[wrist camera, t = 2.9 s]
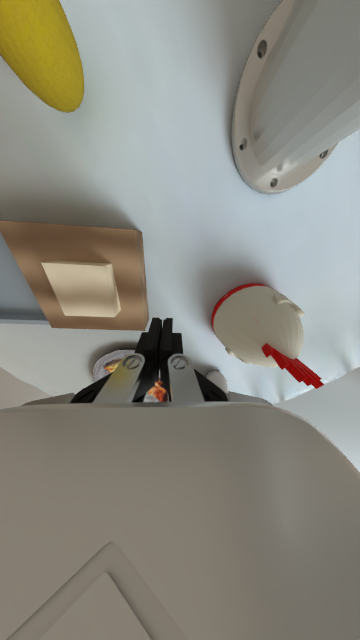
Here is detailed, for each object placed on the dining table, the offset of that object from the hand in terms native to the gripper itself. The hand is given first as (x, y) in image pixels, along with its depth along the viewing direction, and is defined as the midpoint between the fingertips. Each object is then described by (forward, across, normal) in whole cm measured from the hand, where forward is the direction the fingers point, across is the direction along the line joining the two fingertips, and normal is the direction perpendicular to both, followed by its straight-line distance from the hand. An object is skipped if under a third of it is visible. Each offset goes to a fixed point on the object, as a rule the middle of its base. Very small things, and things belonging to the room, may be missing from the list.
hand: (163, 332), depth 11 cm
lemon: (+14, +10, -20) cm, 26 cm away
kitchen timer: (+14, -16, +5) cm, 22 cm away
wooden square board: (+14, +12, -1) cm, 19 cm away
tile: (+10, +11, -1) cm, 15 cm away
